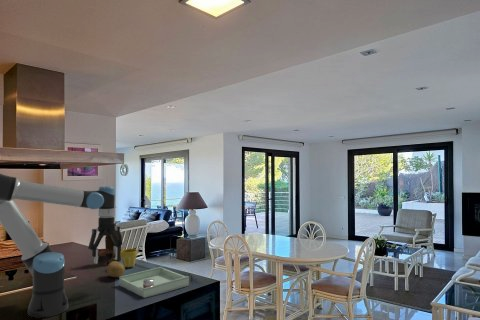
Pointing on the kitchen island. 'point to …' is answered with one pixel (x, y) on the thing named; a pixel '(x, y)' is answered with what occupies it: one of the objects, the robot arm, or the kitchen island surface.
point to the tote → (162, 282)
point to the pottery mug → (105, 256)
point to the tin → (148, 283)
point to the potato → (115, 269)
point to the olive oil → (110, 244)
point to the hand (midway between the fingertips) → (105, 261)
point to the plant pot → (129, 257)
